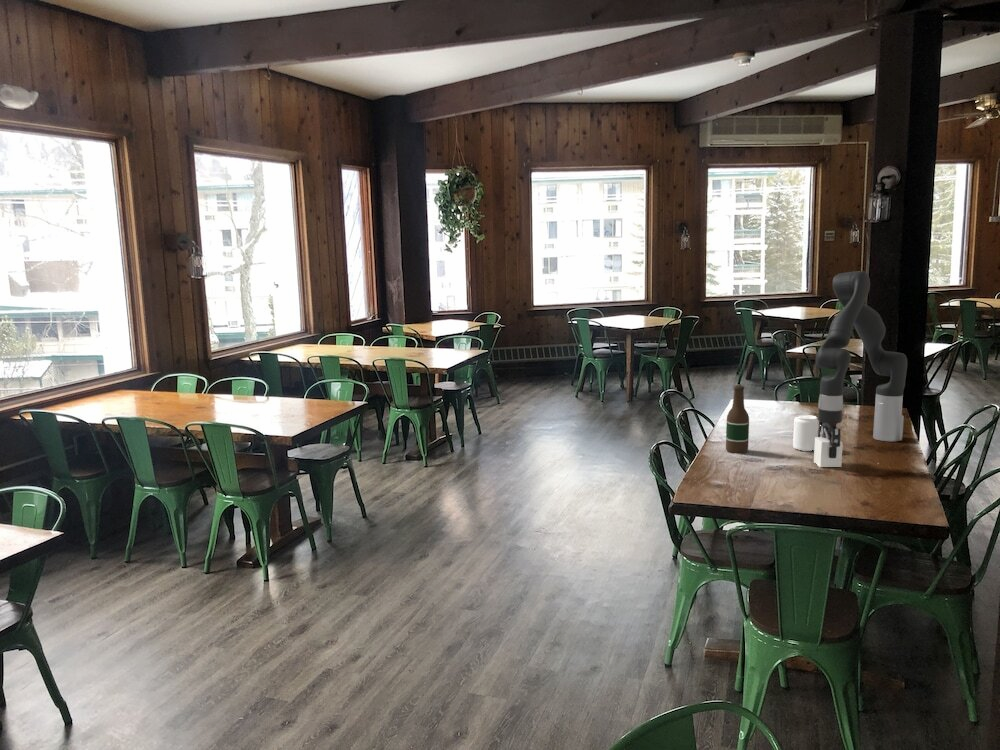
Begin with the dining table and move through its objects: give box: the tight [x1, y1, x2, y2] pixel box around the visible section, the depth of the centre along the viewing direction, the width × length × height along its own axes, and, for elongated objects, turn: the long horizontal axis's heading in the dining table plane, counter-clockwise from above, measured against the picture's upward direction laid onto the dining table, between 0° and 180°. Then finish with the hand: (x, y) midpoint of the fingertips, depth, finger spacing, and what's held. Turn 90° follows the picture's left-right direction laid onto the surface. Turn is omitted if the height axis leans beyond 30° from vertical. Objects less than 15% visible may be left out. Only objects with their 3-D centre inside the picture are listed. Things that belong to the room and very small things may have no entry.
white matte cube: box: [813, 436, 844, 468], centre depth 273 cm, size 7×7×9 cm
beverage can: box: [792, 414, 819, 452], centre depth 293 cm, size 8×8×12 cm
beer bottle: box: [725, 385, 750, 454], centre depth 290 cm, size 8×8×24 cm
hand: (827, 454), depth 273 cm, fingers open, 8 cm apart
